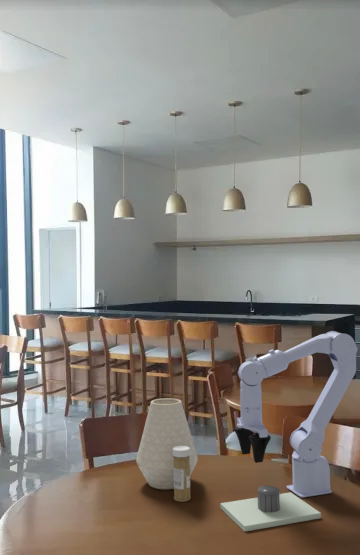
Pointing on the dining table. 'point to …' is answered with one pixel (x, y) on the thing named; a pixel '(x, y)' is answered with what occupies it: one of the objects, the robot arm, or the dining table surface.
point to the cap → (268, 499)
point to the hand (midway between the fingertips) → (252, 457)
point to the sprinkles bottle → (181, 473)
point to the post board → (253, 518)
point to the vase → (164, 442)
